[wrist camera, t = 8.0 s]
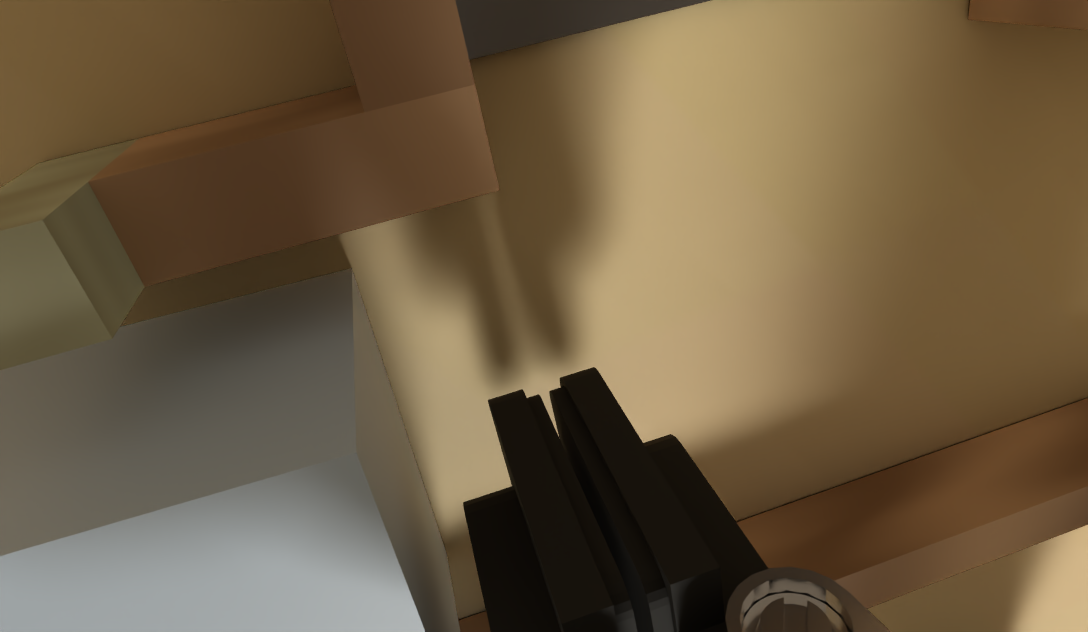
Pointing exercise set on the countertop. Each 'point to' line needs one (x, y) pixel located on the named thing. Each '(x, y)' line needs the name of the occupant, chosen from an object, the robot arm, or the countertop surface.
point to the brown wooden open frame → (447, 177)
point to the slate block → (218, 478)
